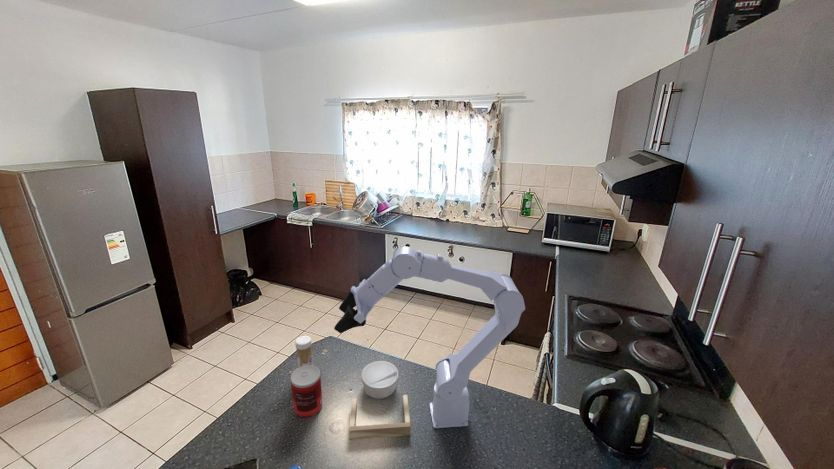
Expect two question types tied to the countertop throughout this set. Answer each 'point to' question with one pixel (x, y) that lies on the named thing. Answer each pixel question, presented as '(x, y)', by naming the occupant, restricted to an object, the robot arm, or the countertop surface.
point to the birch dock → (379, 425)
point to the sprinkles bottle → (304, 351)
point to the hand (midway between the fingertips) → (339, 319)
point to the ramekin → (379, 379)
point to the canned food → (306, 390)
